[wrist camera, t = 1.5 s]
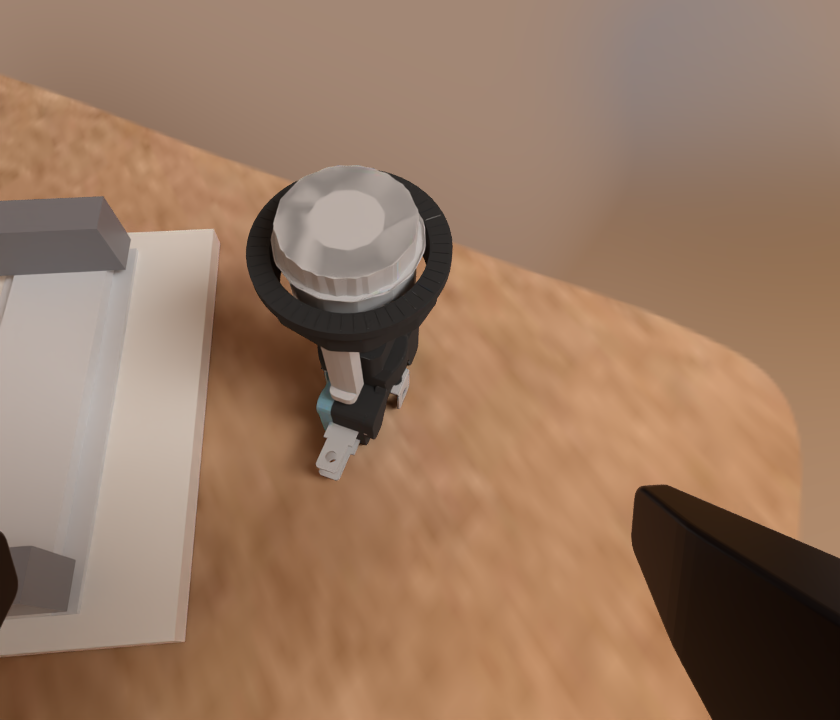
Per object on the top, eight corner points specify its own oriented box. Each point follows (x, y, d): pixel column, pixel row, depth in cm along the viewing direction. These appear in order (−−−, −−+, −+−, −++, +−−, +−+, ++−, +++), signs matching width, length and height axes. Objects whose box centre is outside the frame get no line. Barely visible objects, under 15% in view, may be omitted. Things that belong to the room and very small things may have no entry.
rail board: (184, 641, 20) (130, 636, 16) (-173, 671, 19) (-320, 672, 15) (220, 243, 27) (188, 172, 23) (-39, 256, 26) (-115, 185, 22)
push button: (396, 506, 22) (389, 394, 13) (261, 456, 22) (165, 318, 13) (454, 351, 25) (482, 171, 16) (333, 312, 25) (293, 119, 16)
